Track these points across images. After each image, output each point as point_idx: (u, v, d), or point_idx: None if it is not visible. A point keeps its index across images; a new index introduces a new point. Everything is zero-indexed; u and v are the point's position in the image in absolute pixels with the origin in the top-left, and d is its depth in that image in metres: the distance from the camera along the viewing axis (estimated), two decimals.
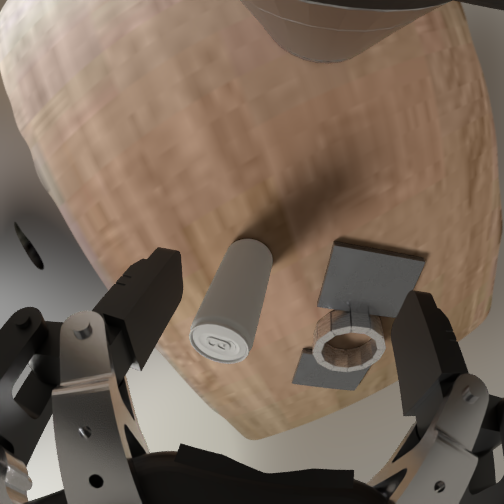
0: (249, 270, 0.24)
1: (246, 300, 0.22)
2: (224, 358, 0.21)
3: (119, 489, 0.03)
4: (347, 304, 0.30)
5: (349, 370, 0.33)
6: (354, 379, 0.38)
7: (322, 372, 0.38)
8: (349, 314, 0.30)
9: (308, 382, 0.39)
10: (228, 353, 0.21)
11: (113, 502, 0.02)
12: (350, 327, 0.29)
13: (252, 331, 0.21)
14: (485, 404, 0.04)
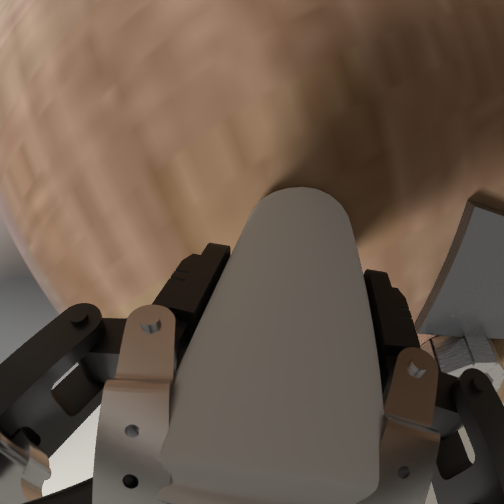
0: (335, 252, 0.08)
1: (360, 357, 0.05)
2: None
3: (153, 494, 0.03)
4: (465, 325, 0.13)
5: None
6: None
7: None
8: (464, 342, 0.14)
9: None
10: None
11: None
12: (471, 365, 0.12)
13: None
14: (433, 379, 0.05)
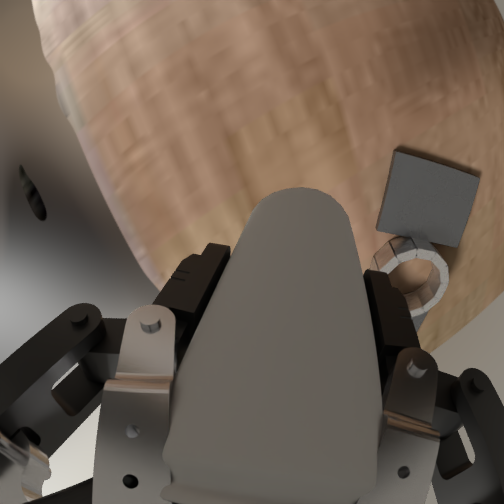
0: (334, 252, 0.08)
1: (359, 357, 0.05)
2: None
3: (153, 494, 0.03)
4: (408, 228, 0.25)
5: None
6: None
7: None
8: (410, 240, 0.26)
9: None
10: None
11: None
12: (416, 250, 0.24)
13: None
14: (433, 379, 0.05)
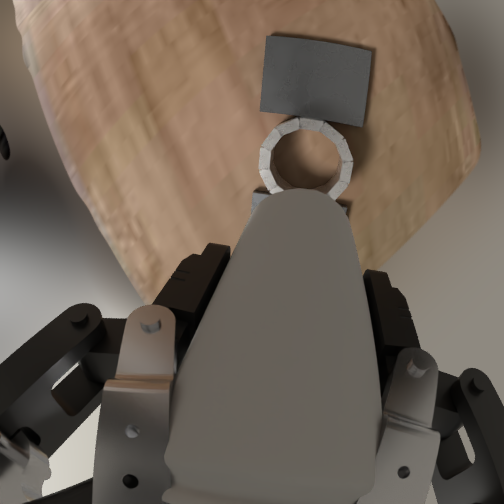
0: (334, 254, 0.08)
1: (358, 359, 0.05)
2: None
3: (153, 494, 0.03)
4: (294, 105, 0.25)
5: None
6: None
7: None
8: (298, 117, 0.25)
9: None
10: None
11: None
12: (298, 120, 0.23)
13: None
14: (433, 379, 0.05)
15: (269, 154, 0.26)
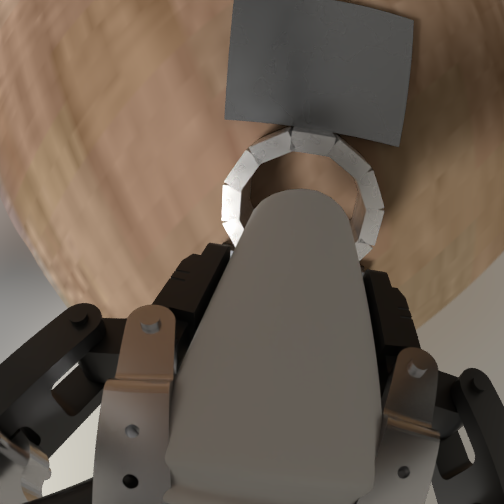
0: (334, 254, 0.08)
1: (358, 360, 0.05)
2: None
3: (153, 494, 0.03)
4: (283, 108, 0.14)
5: None
6: None
7: None
8: (290, 128, 0.14)
9: None
10: None
11: None
12: (289, 136, 0.13)
13: None
14: (433, 379, 0.05)
15: (238, 196, 0.15)
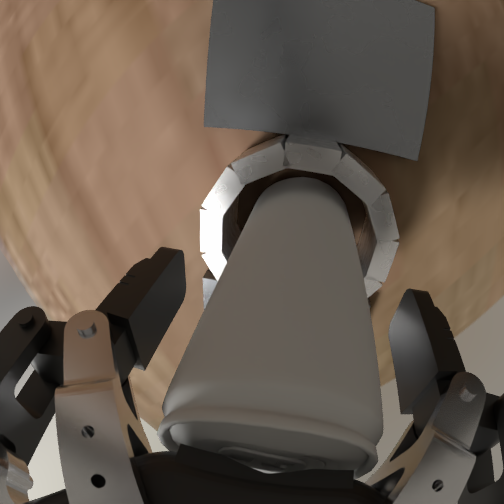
0: (331, 228, 0.09)
1: (353, 307, 0.06)
2: None
3: (121, 489, 0.03)
4: (276, 112, 0.12)
5: None
6: None
7: None
8: (284, 137, 0.12)
9: None
10: None
11: (114, 502, 0.02)
12: (281, 148, 0.10)
13: None
14: (482, 402, 0.04)
15: (219, 224, 0.12)
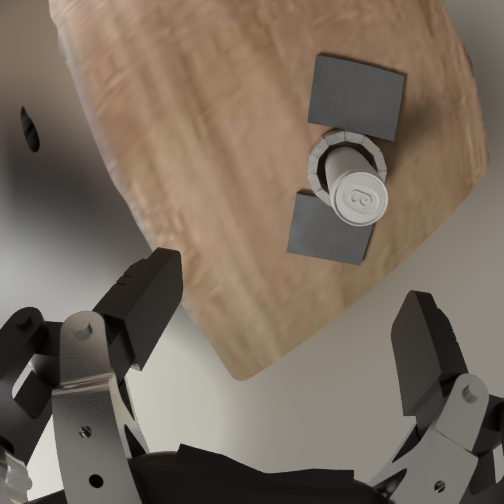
0: (363, 158, 0.25)
1: None
2: (360, 220, 0.22)
3: (119, 489, 0.03)
4: (338, 119, 0.28)
5: None
6: (358, 243, 0.35)
7: (321, 228, 0.35)
8: None
9: (305, 248, 0.37)
10: (366, 211, 0.22)
11: (113, 501, 0.02)
12: (343, 133, 0.27)
13: None
14: (485, 404, 0.04)
15: (317, 161, 0.29)
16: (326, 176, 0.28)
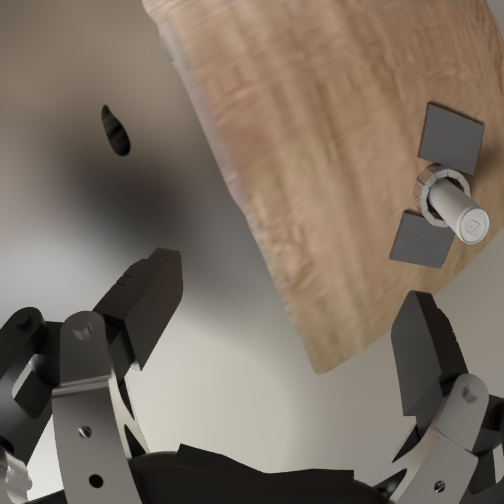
0: (462, 191, 0.30)
1: None
2: (471, 240, 0.27)
3: (119, 489, 0.03)
4: (440, 157, 0.32)
5: (445, 225, 0.35)
6: (442, 251, 0.39)
7: (418, 240, 0.39)
8: (442, 165, 0.33)
9: (405, 255, 0.41)
10: (476, 234, 0.26)
11: (113, 502, 0.02)
12: (447, 170, 0.31)
13: None
14: (485, 404, 0.04)
15: (428, 190, 0.33)
16: (435, 203, 0.33)
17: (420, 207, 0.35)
